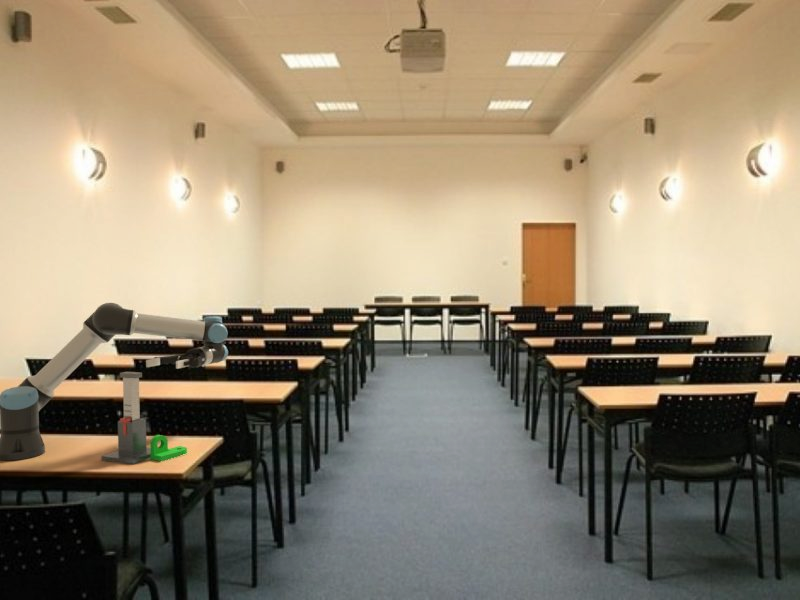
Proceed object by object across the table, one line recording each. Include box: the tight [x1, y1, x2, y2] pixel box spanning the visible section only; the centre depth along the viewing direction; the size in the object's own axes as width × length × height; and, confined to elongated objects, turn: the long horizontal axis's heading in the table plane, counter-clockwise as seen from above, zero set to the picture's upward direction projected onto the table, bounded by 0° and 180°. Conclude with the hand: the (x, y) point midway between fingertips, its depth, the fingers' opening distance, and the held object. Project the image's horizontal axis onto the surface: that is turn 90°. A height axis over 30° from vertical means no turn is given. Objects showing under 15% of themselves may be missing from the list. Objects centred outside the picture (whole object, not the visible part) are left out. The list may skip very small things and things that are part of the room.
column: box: [119, 371, 143, 422], centre depth 220 cm, size 7×4×28 cm, turn 70°
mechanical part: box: [149, 434, 188, 462], centre depth 221 cm, size 12×6×8 cm, turn 146°
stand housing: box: [100, 417, 151, 465], centre depth 220 cm, size 14×14×14 cm
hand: (161, 364), depth 233 cm, fingers open, 13 cm apart
